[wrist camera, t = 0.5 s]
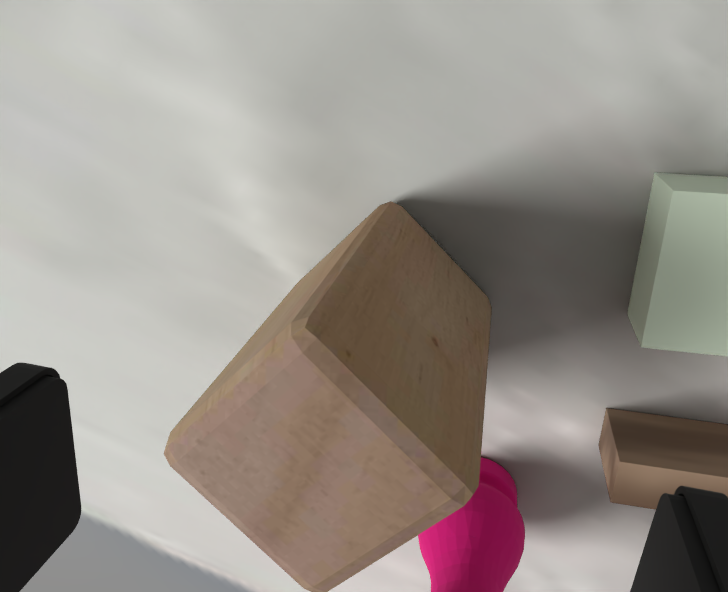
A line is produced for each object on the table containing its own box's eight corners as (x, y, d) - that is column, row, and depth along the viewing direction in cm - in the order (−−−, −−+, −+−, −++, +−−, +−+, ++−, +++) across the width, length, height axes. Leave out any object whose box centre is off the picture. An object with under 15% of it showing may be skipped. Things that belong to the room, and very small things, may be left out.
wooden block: (498, 302, 42) (488, 503, 24) (391, 385, 46) (313, 611, 28) (393, 191, 41) (300, 317, 23) (292, 286, 45) (145, 457, 27)
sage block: (653, 171, 38) (673, 190, 33) (804, 180, 36) (846, 201, 32) (626, 312, 41) (640, 347, 37) (763, 326, 40) (796, 363, 35)
